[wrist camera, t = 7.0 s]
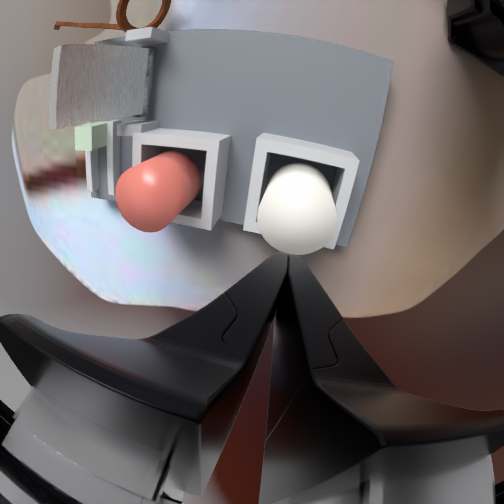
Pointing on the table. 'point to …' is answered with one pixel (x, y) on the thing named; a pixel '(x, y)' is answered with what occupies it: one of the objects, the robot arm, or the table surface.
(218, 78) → the panel
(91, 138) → the slider knob
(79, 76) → the grey rectangular slab
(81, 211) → the table surface
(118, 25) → the glasses
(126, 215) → the button red
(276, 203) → the button white
